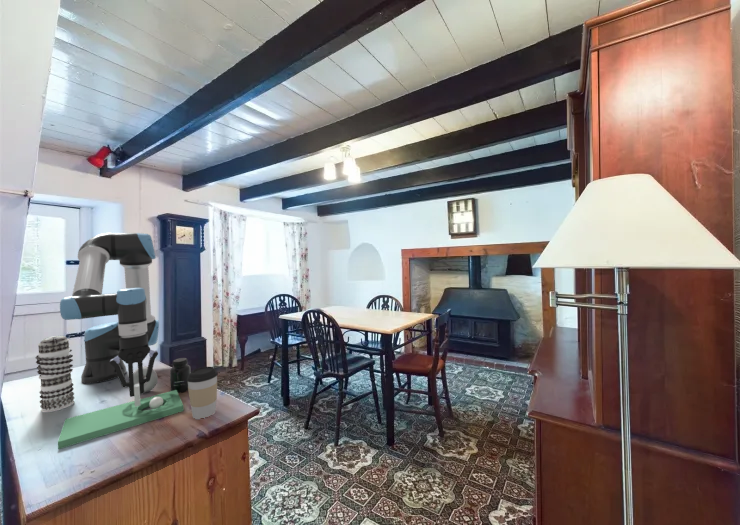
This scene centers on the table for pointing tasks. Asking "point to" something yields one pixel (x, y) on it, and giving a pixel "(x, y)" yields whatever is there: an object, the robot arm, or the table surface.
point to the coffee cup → (202, 391)
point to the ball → (156, 402)
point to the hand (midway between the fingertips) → (137, 404)
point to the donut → (148, 385)
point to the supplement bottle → (179, 375)
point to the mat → (116, 418)
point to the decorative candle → (55, 373)
